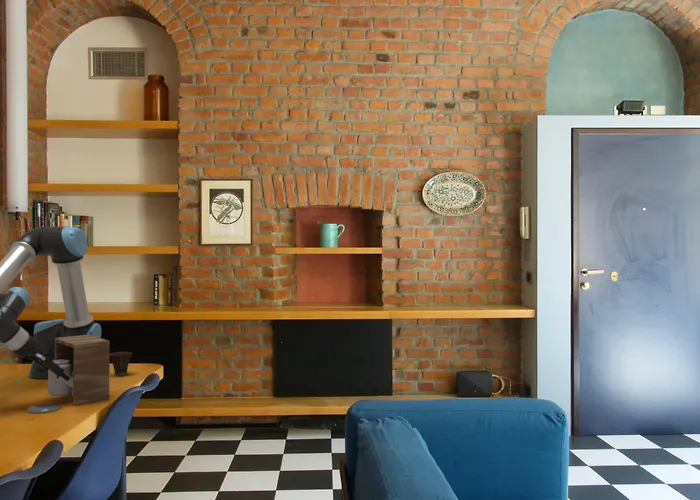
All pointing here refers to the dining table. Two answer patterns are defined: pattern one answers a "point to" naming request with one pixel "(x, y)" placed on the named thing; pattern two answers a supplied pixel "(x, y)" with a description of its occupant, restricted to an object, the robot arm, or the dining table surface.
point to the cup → (120, 362)
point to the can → (59, 380)
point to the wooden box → (86, 366)
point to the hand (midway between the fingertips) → (69, 382)
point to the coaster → (44, 408)
